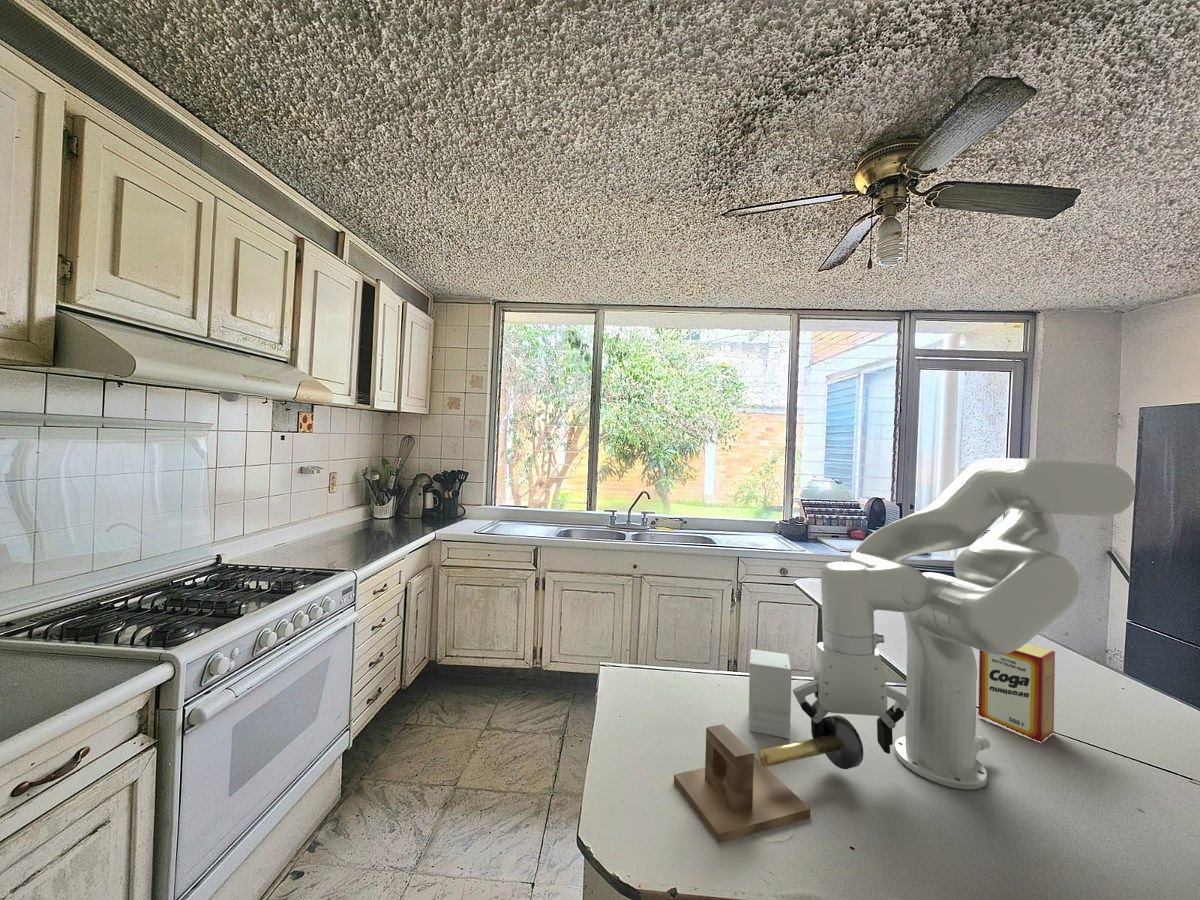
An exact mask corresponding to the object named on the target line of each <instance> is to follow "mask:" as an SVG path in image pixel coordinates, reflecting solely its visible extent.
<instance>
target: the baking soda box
mask: <svg viewBox="0 0 1200 900" xmlns="http://www.w3.org/2000/svg"><path fill="white" fill-rule="evenodd" d="M978 659H979V663H978V664H979V665H978V666H979V667H978V669H979V670H978V671H979V673H978V674H979V675H978V679H979V680H978V715H980V716H982V717H985V718H988V719H990V720H992V721H994V722H997V723H999V724H1001V725H1003V726H1006V727H1007V728H1010V729H1012V730H1015V731H1016V732H1019V733H1021V734H1023V735H1026V736H1028V737H1030V738H1032V739H1035V740H1037V741H1040V742H1042V741H1043V740H1044V739H1045V738H1046V737H1048V736H1049V735H1050V734H1052V733H1053V732H1055V731H1054V730H1055V729H1054V728H1055V727H1054V723H1055V720H1054V719H1055V681H1056V679H1055V676H1056V675H1055V674H1056V673H1055V671H1056V670H1055V669H1056V668H1055V667H1056V664H1055V661H1056V651H1054V650H1052V649H1047V648H1045V647H1044V648H1043V647H1040V646H1037V645H1033V644H1031V643H1026V644H1025V645H1023V646H1022V647H1020V648H1019V649H1017V650H1015V651H1013V652H1011V653H1008V654H1002V655H996V654H990V653H986V652H983V651H981V650H979V658H978Z"/></svg>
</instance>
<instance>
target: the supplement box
mask: <svg viewBox="0 0 1200 900" xmlns="http://www.w3.org/2000/svg"><path fill="white" fill-rule="evenodd" d="M748 662H749V663H748V665H749V667H748V668H749V670H748V671H749V673H748V676H749V679H748V685H749V686H748V695H749V696H748V732H753V733H759V734H764V735H769V736H774V737H779V738H782V739H783V738H784V739H787V740H788V739H791V714H792V713H791V712H792V711H791V708H792V707H791V706H792V674H793V673H792V670H793V669H792V666H791V662H790V657H789V654H788V653H781V652H774V651H767V650H766V651H765V650H761V649H760V650H759V649H755V648H754V649H753V648H751V649H750V653H749V661H748Z"/></svg>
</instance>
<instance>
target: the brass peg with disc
mask: <svg viewBox="0 0 1200 900" xmlns="http://www.w3.org/2000/svg"><path fill="white" fill-rule="evenodd" d="M822 722H823V724H824V736H823V737H819V738H814V739H813V738H810V739H804V740H801V741H796V742H791V743H787V744H782V745H777V746H772V747H771V746H770V747H766V748H763V749H759V751H758V758H759V759H758V760H759V761H760V762H761V764H762V765H763V766H764V767H767V768H768V767H772V766H775V765H779V764H781V765H782V764H785V763H790V762H795V761H798V760H803V759H808V758H811V757H816V756H821V755H826V757H827V759H829V761H830V762H831V763H832V764H833V765H834V766H836V767H838V768H839V769H841V770H849V769H853V768H856V767H858V766H860V765H861V764H862V762H863V760H864V746H863V741H862V739H861V737H860V734H859V732H858V731H857V729H856V728H855V727H854V725H853V724H852V723H851V722H850V721H849V720H848V719H847V718H846V717H844V716H842V715H837V714H835V715H831V716H825V717H824V718H823V719H822Z"/></svg>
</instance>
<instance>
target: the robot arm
mask: <svg viewBox="0 0 1200 900" xmlns="http://www.w3.org/2000/svg"><path fill="white" fill-rule="evenodd" d="M1136 491H1137V490H1136V485H1135V481H1134V480H1133V478H1132V477H1131V475H1130V474H1129V473H1128V472H1127V471H1126V470H1124V469H1123V468H1121V467H1120V466H1117V465H1114V464H1111V463H1106V462H1105V463H1104V462H1091V461H1090V462H1089V461H1088V462H1087V461H1072V460H1071V461H1070V460H1060V459H1048V458H1031V457H1027V458H1024V457H1023V458H1022V457H1019V458H1018V457H1013V458H1011V457H1010V458H1009V457H1004V458H1002V457H998V458H997V457H995V458H994V457H993V458H992V457H991V458H983V459H980V460H978V461H975V462H973V463H972V464H970V465H969V466H968V467H967V468H966V469H965V470H963V472H961V473H960V474H959V475H958V476H957V477H956V478H955V479H954V480H953V481H952V482H951V483H949V485H948V486H947V487H946V488H944V489H943V490H942V491H941V492H940V493H939V494H938V495H937V496H936V497H935V498H934V499H933V500H931V502H930V503H929V504H928V505H927V506H926V507H924V508H923V509H921V510H919V511H917V512H914V513H911V514H909V515H906V516H905V517H902V518H900V519H898V520H895V521H893V522H891V523H889V524H886V525H884V526H882V527H880V528H878V529H876V530H875V531H873V532H872V533H871V534H869V535H868V536H866V538H865V539H863V540H862V541H861V542H860V543H859V544H858V545H857V546H856V547H855V548H854V549H853V550H852V551H851V552H850V553H849V554H848V555H847V556H846V558H845V560H844V561H832V562H828V563H825V564H824V565H823V566H822V568H821V571H820V585H821V586H820V588H821V590H820V591H821V592H820V593H821V618H822V619H821V620H822V624H821V626H822V641H821V642H820V641H819V642H818V643H817V647H816V651H815V658H814V667H813V668H814V669H813V679H812V680H811V681H809V682H806V683H803V684H802V685H800V686H797V687H795V688H793V689H792V692H793V694H794V697H795V699H796V701H797V702H798V704H799V706H800V708H801V710H802V711H803V712H804V713H805V714H806V715H807V716H808V718H810V725H811V728H810V730H811V732H810V733H811V736H812V737H811V738H812V739H814V738H819V737H823V736H824V724H823V722H822V719H823V718H825V717H827V716H826V715H828V714H829V713H831V714H841V715H842V714H843V715H854V716H855V715H857V716H871V717H872V716H874V717H876V716H878V717H877V719H876V729H877V730H876V735H877V737H876V738H877V743H878V744H879V746H880V747H881V749H882V750H883V752H884V753H885V754H889V755H890V754H891V746H893V745H894V749H893V750H894V754H895V756H896V758H897V759H898V760H899V761H900V762H901V763H902V764H903V765H905V766H904V767H907V769H909V770H911V771H912V772H914V773H915V774H917V775H918V776H921V777H923V778H925V779H927V780H929V781H932V782H934V783H937V784H938V785H943V786H945V787H950V788H953V789H958V790H959V789H961V790H976V789H981V788H983V787H985V786H986V784H987V782H988V772H987V770H986V768H985V767H984V765H983V764H982V763H981V762H980V761H979V760H978V759H977V757H978V756H977V754H979V753H980V751H983V750H987V749H990V748H991V743H990V740H989V739H988V738H987V737H986V736H984V735H978V736H976V725H977V724H976V723H977V722H976V718H977V715H976V714H977V680H978V679H977V678H978V667H977V661H976V656H975V653H974V650H973V649H976V650H978V651H980V650H981V651H983V652H986V653H990V654H996V655H1002V654H1008V653H1011V652H1013V651H1015V650H1017V649H1019V648H1020V647H1022V646H1023V645H1025V644H1028V643H1029V642H1030V641H1031V640H1032V639H1034V638H1035V637H1036V636H1038V635H1039V634H1040V633H1041V632H1043V631H1044V630H1046V629H1047V628H1048V627H1049V626H1051V625H1052V624H1053V623H1054V622H1055V621H1057V620H1058V619H1059V618H1061V617H1062V616H1063V615H1064V614H1065V613H1066V612H1067V611H1069V609H1070V608H1072V606H1073V604H1074V603H1075V601H1076V600H1077V597H1078V594H1079V590H1080V576H1079V574H1078V570H1077V568H1075V566H1074V565H1073V563H1071V561H1069V560H1068V559H1067V558H1065V557H1064V556H1063V555H1061V554H1058V553H1057V552H1059V549H1060V547H1061V537H1060V535H1059V531H1058V529H1057V527H1056V525H1055V522H1054V518H1053V514H1054V515H1064V516H1065V515H1066V516H1083V517H1084V516H1086V517H1101V518H1102V517H1103V518H1105V517H1112V516H1115V515H1119V514H1121V513H1122V512H1124V511H1126V510H1127V509H1128V508H1129V507H1130V506H1131V505H1132V503H1133V502H1134V499H1135V497H1136ZM1002 516H1003V517H1002ZM1000 517H1002V518H1003V519H1001V521H1000V522H999V523H997V524H996V525H995V526H994V527H993V528H991V529H990V530H989V531H987V530H988V529H989V528H990V527H991V526H993V525H994V524H995V522H997V521H998V520H999V519H1000ZM986 531H987V532H986ZM959 549H963V550H962V551H961V552H960V553H959V555H957V557H956V559H955V560H954V563H953V572H954V575H955V577H954V576H951V575H948V574H943V573H940V572H939V573H938V572H931V571H930V572H927V571H926V572H921V571H920V570H919V569H917V568H915V567H913V566H910V565H908V564H905V563H901V562H904V561H905V560H908V559H909V558H912V557H915V556H919V555H923V554H929V553H938V552H939V553H940V552H947V551H953V550H955V551H956V550H959ZM875 611H885V612H887V611H888V612H896V613H902V614H903V620H904V623H905V632H906V686H905V688H906V691H905V694H903V693H901V692H900V691H897V690H896V689H894V688H892V687H891V686H888V685H887V684H886V683H887V682H886V678H885V673H884V667H883V663H882V658H881V655H880V652H879V650H878V648H877V645H879V644H884V643H885V637H884V636H885V635H884V634H882V633H877V632H875ZM812 694H813V695H814V698H815V700H814V702H812V704H810V703H809V702H808V701H807V700H806V697H807V696H809V695H812ZM888 698H890V699H892V700H893V701H895V702H894V704H893V705H892V706H891V707H890V708H888ZM904 716H905V725H904V726H905V733H904V734H905V735H904V736H901V737H899V738H897V739H896V740H895V742H894V743H893V729H894V728H896V724H897V723H898V722H899V721H900V720H901V719H902V718H903V717H904Z"/></svg>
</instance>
